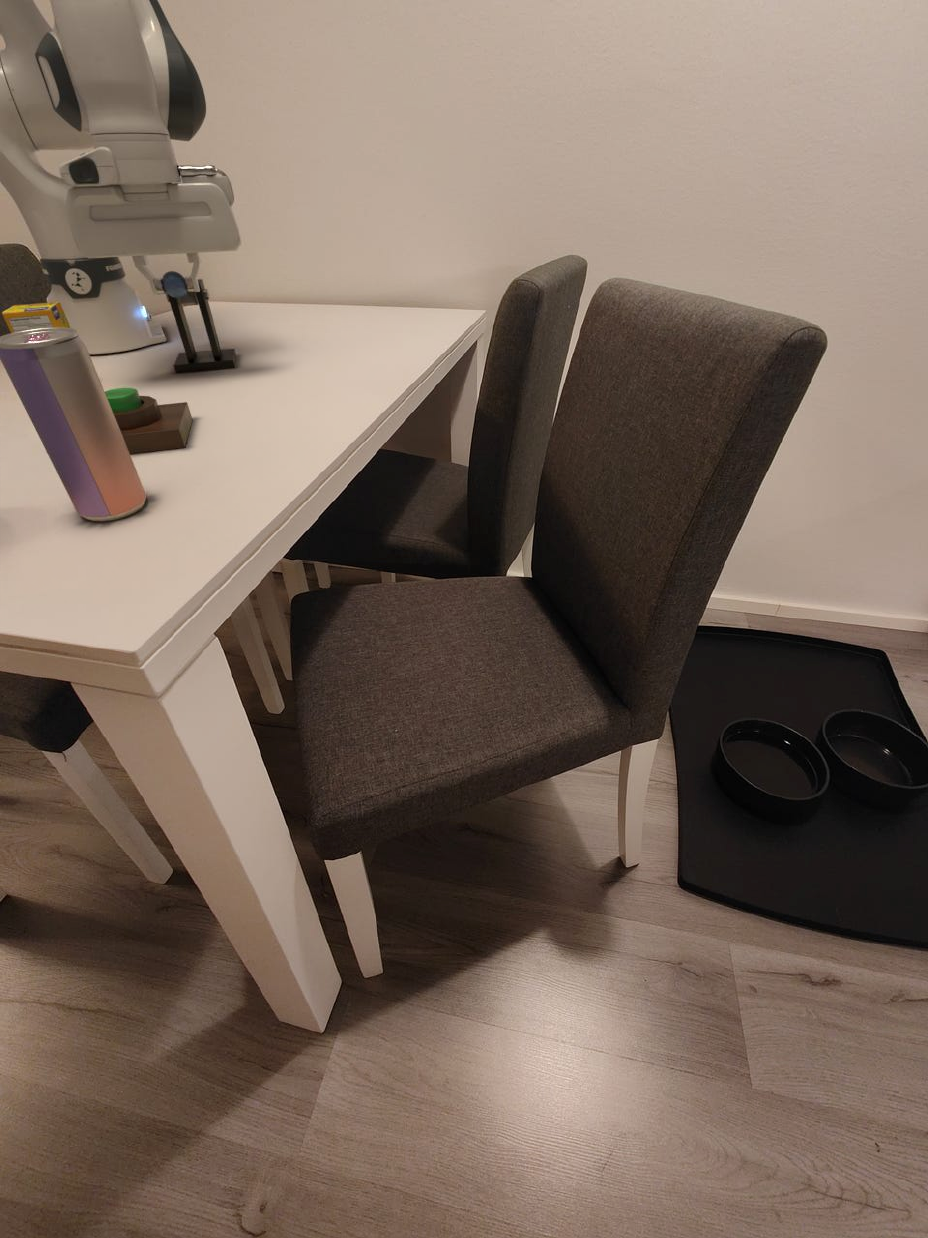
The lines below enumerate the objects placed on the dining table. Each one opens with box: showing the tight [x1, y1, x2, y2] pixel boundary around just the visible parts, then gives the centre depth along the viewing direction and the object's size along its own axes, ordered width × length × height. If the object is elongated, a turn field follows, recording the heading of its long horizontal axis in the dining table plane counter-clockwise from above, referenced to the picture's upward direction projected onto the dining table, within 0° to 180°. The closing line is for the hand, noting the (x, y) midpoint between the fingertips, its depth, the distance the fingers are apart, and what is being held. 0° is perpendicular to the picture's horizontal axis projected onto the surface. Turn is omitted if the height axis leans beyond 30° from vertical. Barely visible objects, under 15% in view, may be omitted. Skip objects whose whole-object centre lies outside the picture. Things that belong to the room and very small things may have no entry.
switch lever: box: [161, 270, 199, 307], centre depth 83 cm, size 13×3×3 cm, turn 16°
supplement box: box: [2, 302, 71, 333], centre depth 81 cm, size 6×6×11 cm
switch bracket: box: [165, 278, 237, 374], centre depth 90 cm, size 8×9×12 cm
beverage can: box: [0, 327, 147, 522], centre depth 49 cm, size 6×6×15 cm
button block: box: [113, 395, 193, 455], centre depth 66 cm, size 10×12×4 cm
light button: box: [104, 387, 143, 412], centre depth 65 cm, size 4×4×2 cm
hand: (177, 292), depth 79 cm, fingers closed on switch lever, 3 cm apart
